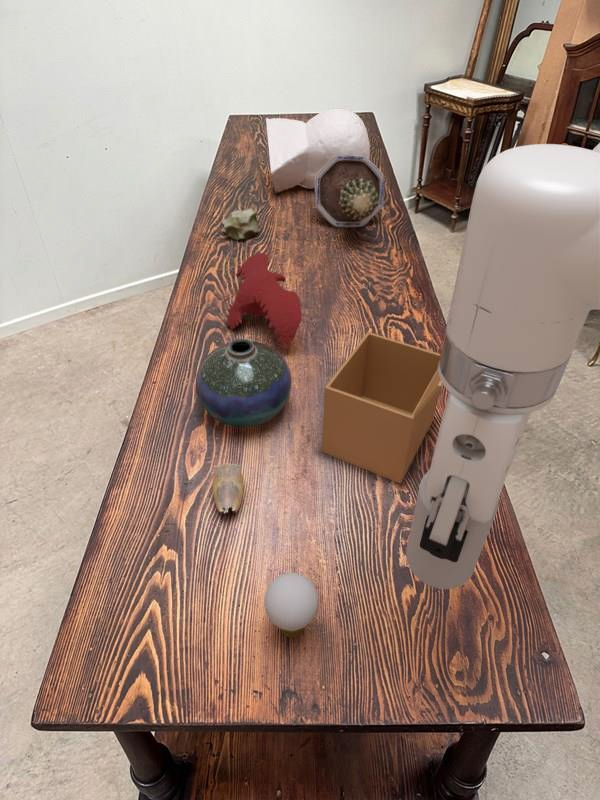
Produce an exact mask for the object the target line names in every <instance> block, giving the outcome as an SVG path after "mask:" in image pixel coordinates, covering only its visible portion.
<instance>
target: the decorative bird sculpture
mask: <svg viewBox="0 0 600 800" xmlns="http://www.w3.org/2000/svg"><path fill="white" fill-rule="evenodd" d="M268 261H269V256H268V255H267V254H265V253H264V252H259V253H255V254H253V255H251V256H249V257H248V258H246V260H245V261H244V262H243V263H242V264H241V266H240V267H239V268H238V270H237V271H236V273H235V276H236V278H238V277H239V278H241V281H242V282H241V284H240V285H239V287H238V290H237V293H236V296H235V299H234V302H233V304H229V308H228V309H227V312H228V314H227V315H226V317H227V321H226V322H227V328H230V329H231V330H234V329H235V328H236V327H239V325H240V324H242V317H243V316H244V315H245V314H249V315H250V316H255V317H260V318H265V319H266V320H269V323H268V328H270V329H273V328H274V335H279V337H278V342H279V343H283V344H285V345H287V346H288V345H290V343H291V342H292V341H293V339H294V337H295V336H296V335H297V332H298V329H299V327H300V324H301V322H302V318H303V314H302V313H303V312H302V304H301V300H300V298H299V296H298V294H297V292H295V291H291V290H287V289H284V288H283V287H282V286H281V285H280V284H279V282H283V283H285V282H286V278H285V276H284V275H282V273H277V272H272V271H270V270H269V269H268Z"/></svg>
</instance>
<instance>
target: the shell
mask: <svg viewBox="0 0 600 800" xmlns="http://www.w3.org/2000/svg"><path fill="white" fill-rule="evenodd" d="M212 493H213V499H214V504H215V506H216V510H217V511H218V513H220V514H224V515H225V514H226V513H229V509H230V508H231V511H232V512H234V513H237V512H238V511H239V510H240V507H241V504H242V500H243V495H244V478H243V473H242V468H241V467H240V464H234V463H230V462H225V463H222V464H220V465H217V466H215V470H214V473H213V478H212Z"/></svg>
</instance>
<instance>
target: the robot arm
mask: <svg viewBox="0 0 600 800" xmlns="http://www.w3.org/2000/svg"><path fill="white" fill-rule="evenodd" d="M471 200H472V201H471V206H470V210H469V215H468V219H467V224H466V229H465V235H464V239H463V244H462V249H461V254H460V258H459V264H458V268H457V272H456V278H455V282H454V286H453V292H452V297H451V302H450V307H449V311H448V317H447V320H446V326H445V329H444V335H443V340H442V343H441V344H442V345H441V350H440V353H439V354H440V359H439V364H438V374H439V377H440V380H441V382H442V385H443V387H444V388H445V389H446V390H447V391H448V394H447V398H446V402H445V405H444V409H443V414H442V415H441V422H440V425H439V429H438V433H437V437H436V442H435V445H434V450H433V454H432V459H431V462H430V468H429V469H430V471H429V470H428V471H429V476H428V481H427V487H426V497H427V499H428V501H429V502H430V503H431V502H432V501H434V503H433V506H432V509H431V512H430V515H428V516H427V518H426V521H425V525H424V529H423V533H422V537H421V541H420V547H421V548H422V549H424V550H426V551H428V552H429V553H430V554H431V555H433V556H435V557H438V558H440V559H447V560H449V561H452V562H457V561H458V559H459V556H460V553H461V550H462V547H463V545H464V542H465V539H466V536H467V533H468V531H467V530H466V529H465V528H466V525H467V523H468V520H469V517H470V518H471V519H472V520H474V521H477V522H480V523H485V522H487V521H489V520H490V519H491V517H492V515H493V512H494V509H495V506H496V504H497V501H498V498H499V499H500V496H501V493H502V490H503V488H504V485H505V482H506V480H507V478H508V475H509V472H510V469H511V467H512V464H513V462H514V460H515V456H516V454H517V451H518V449H519V446H520V443H521V441H522V438H523V435H524V432H525V430H526V428H527V424H528V421H529V418H530V416H531V413H533V412H536V411H539V410H541V409H542V408H544V407H546V406H547V405H548V404H550V402H552V401H553V399H554V397H555V395H556V392H557V390H558V388H559V385H560V383H561V380H562V379H563V376H564V374H565V372H566V369H567V366H568V364H569V361H570V359H571V357H572V354H573V351H574V349H575V346H576V344H577V341H578V339H579V337H580V334H581V332H582V330H583V328H584V326H585V323H586V321H587V318H588V316H589V314H590V311H593V310H594V311H595V310H597V311H600V142H599V143H598V144H597V145H596V146H595V147H593V149H588V148H584V147H579V146H575V145H568V144H556V143H535V144H526V145H520V146H515V147H512V148H508V149H506V150H504V151H502V152H500V153H498V154H496V155H495V156H494V157H492V158H491V159H490V160H489V161H488V163H486V164H485V166H484V167H483V168H482V170H481V173H480V174H479V176H478V178H477V180H476V184H475V188H474V191H473V194H472V199H471ZM446 488H447V489H446ZM444 489H446V491H445V490H444ZM465 494H466V498H464V495H465ZM459 511H461V512H463V514H462V517H461V520H460V523H459V522H456V521H455V520H456V517H457V515H458V512H459ZM458 525H459V526H458Z"/></svg>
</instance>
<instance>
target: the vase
mask: <svg viewBox="0 0 600 800" xmlns="http://www.w3.org/2000/svg"><path fill="white" fill-rule="evenodd" d="M292 384H293V378H292V372H291V369H290V366H289V364H288V363H287V360H286V359H285V358H284V356H283V355H282V354H280V352H279V351H277V350H276V349H275V348H273V347H271V346H269V345H268V344H264V343H262V342H258V341H253V340H249V339H247V338H238V339H234V340H232V341H230V342H227V343H224V344H222V345H220V346H218V347H216V348H215V349H213V350H211V352H209V353H208V354H207V355H206V357H205V358H204V359H203V360H202V361H201V363H200V365H199V367H198V369H197V373H196V377H195V391H196V395H197V398H198V400H199V402H200V404H201V406H202V408H203V409H204V410H205V412H206V413H207V414H208V415H209V416H211V417H212V419H214V420H215V421H217V422H219V423H220V424H223V425H224V426H228V427H232V428H238V429H250V428H256V427H259V426H262V425H264V424H267V423H269V422H270V421H272V420H273V419H274V418H276V417H277V416H278V415H279V414H280V413H281V412H282V411H283V409H284V408H285V406H286V405H287V403H288V401H289V398H290V395H291V392H292Z"/></svg>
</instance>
